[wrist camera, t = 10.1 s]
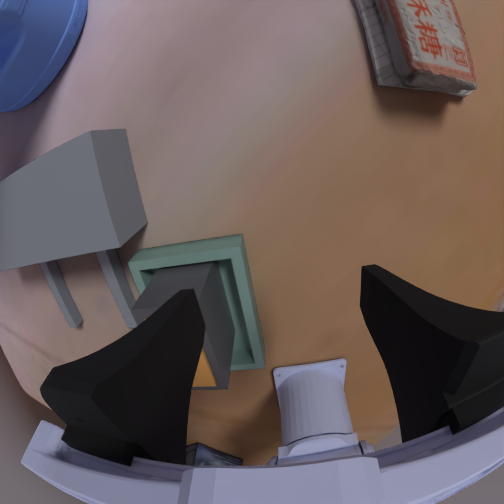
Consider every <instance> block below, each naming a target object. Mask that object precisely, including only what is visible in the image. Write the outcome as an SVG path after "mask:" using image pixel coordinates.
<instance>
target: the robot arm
mask: <svg viewBox="0 0 504 504" xmlns="http://www.w3.org/2000/svg"><path fill="white" fill-rule="evenodd" d="M360 308H361V311H362V314H363V317H364V320H365V323H366V326H367V328H368V330H369V332H370V334H371V336H372V338H373V341H374V343H375V345H376V347H377V349H378V351H379V353H380V355H381V358H382V360H383V362H384V365H385V367H386V370H387V373H388V376H389V380H390V383H391V387H392V390H393V394H394V399H395V403H396V407H397V412H398V418H399V423H400V430H401V437H402V444H399V445H396V446H392V447H389V448H386V449H382V450H379V451H375V452H374V449H373V447H372V445H371V444H370V443H368V442H366V441H365V440H362V441H359V442H358V438H357V434H356V433H353V429H352V424H351V420H350V415H349V411H348V406H347V402H346V398H345V394H344V390H343V388H344V380H345V371H346V360H345V359H344V358H342V359H336V360H330V361H324V362H318V363H311V364H304V365H296V366H288V367H279V368H275V369H274V370H273V375H274V380H275V386H276V391H277V396H278V402H279V407H280V412H281V435H282V447H278V456H273V457H271V458H270V460H269V461H268V462H267V464H266V465H261V466H225V465H211V466H188V465H186V439H187V423H188V412H189V404H190V396H191V390H192V385H193V381H194V378H195V374H196V370H197V366H198V363H199V359H200V355H201V352H202V348H203V344H204V336H205V327H206V324H205V322H204V319H203V316H202V313H201V309H200V306H199V303H198V300H197V297H196V294H195V291H194V288H193V289H183V290H180V291H178V292H177V293H176V294H175V295H173V296H172V297H171V298H170V299H169V300H168V301H166V302H165V303H164V304H163V305H162V306H161V307H160V308H158V309H157V310H156V311H155V312H154V313H153V314H152V315H150V316H149V317H148V318H147V319H145V320H144V321H143V322H142V323H141V324H139V325H138V326H137V327H136V328H134V329H133V330H131V331H130V332H129V333H127V334H126V335H124V336H123V337H121V338H120V339H118V340H116V341H115V342H113V343H111V344H109V345H108V346H106V347H104V348H102V349H100V350H99V351H97V352H94V353H92V354H90V355H88V356H85V357H83V358H81V359H78V360H76V361H73V362H70V363H67V364H63V365H60V366H57V367H54V368H53V369H52V370H51V372H50V373H49V375H48V376H47V378H46V379H45V381H44V382H43V384H42V385H41V387H40V392H41V395H42V397H43V399H44V400H45V402H46V403H47V404H48V405H49V407H50V408H51V409H52V410H53V411H54V412H55V413H56V414H57V415H58V416H59V417H60V418H61V419H62V420H63V421H64V422H65V423H66V424H67V428H66V429H65V430H64V429H62V428H60V427H58V426H57V425H54V424H51V423H49V422H47V421H44V420H41V422H40V424H39V426H38V428H37V430H36V432H35V434H34V435H33V437H32V440H31V441H30V444H29V446H28V448H27V450H26V452H25V454H24V456H23V458H22V461H21V462H22V464H23V465H24V466H26V467H27V468H28V469H30V470H31V471H33V472H34V473H35V474H37V475H38V476H40V477H42V478H43V479H44V480H46V481H47V482H49V483H50V484H52V485H54V486H55V487H57V488H59V489H60V490H62V491H64V492H66V493H68V494H70V495H72V496H74V497H76V498H78V499H80V500H82V501H84V502H86V503H88V504H435V503H438V502H440V501H441V500H444V499H446V498H448V497H450V496H452V495H454V494H455V493H457V492H459V491H461V490H463V489H464V488H466V487H468V486H470V485H471V484H473V483H474V482H476V481H478V480H479V479H481V478H483V477H484V476H485V475H487V474H489V473H490V472H492V471H493V470H495V469H496V468H497V467H499V466H500V465H501V464H503V463H504V312H495V311H487V310H482V309H477V308H472V307H468V306H464V305H461V304H457V303H454V302H451V301H448V300H445V299H443V298H440V297H438V296H435V295H433V294H430V293H428V292H426V291H424V290H422V289H420V288H418V287H416V286H414V285H412V284H410V283H408V282H407V281H405V280H403V279H401V278H399V277H398V276H396V275H394V274H392V273H391V272H389V271H387V270H385V269H383V268H381V267H380V266H377V265H375V264H374V265H367V266H362V271H361V295H360ZM277 374H279V375H277Z"/></svg>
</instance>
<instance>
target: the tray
mask: <svg viewBox="0 0 504 504" xmlns="http://www.w3.org/2000/svg"><path fill="white" fill-rule="evenodd" d="M214 260H218V264H219V268H220V272H221V276H222V280H223V284H224V288H225V292H226V296H227V300H228V304H229V308H230V312H231V315H232V319H233V323H234V327H235V338H234V345H233V353H232V361H231V369H230V371H233V370H249V369H261V368H265V347H264V342H263V337H262V332H261V327H260V322H259V317H258V311H257V306H256V301H255V296H254V291H253V286H252V281H251V275H250V270H249V265H248V260H247V255H246V249H245V244H244V239H243V234H237V235H230V236H223V237H217V238H210V239H203V240H197V241H190V242H184V243H178V244H171V245H165V246H159V247H153V248H146V249H140V250H139V251H138V252H137V253H136V254H135V255H134V256H133V257H132V258H131V259H130V261H129V262H128V265H129V268H130V270H131V273H132V276H133V278H134V281H135V284H136V286H137V289H138V291H139V294H140V296H141V294H142V292H143V291H144V289H145V288H146V286H147V285H148V284H149V282H150V281H151V279H152V278H153V276H154V275H155V273H156V272H157V270H158V269H159V268H161V267H169V266H177V265H184V264H192V263H199V262H207V261H214Z"/></svg>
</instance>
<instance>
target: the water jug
mask: <svg viewBox="0 0 504 504" xmlns="http://www.w3.org/2000/svg"><path fill="white" fill-rule="evenodd" d="M87 5H88V0H0V112H8V111H15V110H18V109H20V108H22V107H24V106H26V105H28V104H29V103H31V102H32V101H33V100H34V99H36V98H37V97H38V96H39V95H40V94H41V93H42V92H43V91H44V90H45V89H46V88H47V87H48V85H49V84H50V83H51V82H52V81H53V79H54V78H55V77H56V75H57V74H58V72H59V71H60V70H61V68H62V67H63V65H64V63H65V62H66V60H67V58H68V57H69V55H70V53H71V51H72V49H73V48H74V46H75V43H76V41H77V39H78V37H79V35H80V32H81V29H82V27H83V24H84V20H85V17H86V12H87Z"/></svg>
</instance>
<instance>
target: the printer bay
mask: <svg viewBox="0 0 504 504" xmlns="http://www.w3.org/2000/svg"><path fill="white" fill-rule="evenodd" d="M147 223H148V222H147V219H146V215H145V211H144V208H143V204H142V200H141V196H140V192H139V188H138V184H137V180H136V176H135V172H134V167H133V163H132V158H131V154H130V149H129V144H128V139H127V134H126V129H110V130H95V131H89V132H87V133H85V134H82V135H80V136H78V137H76V138H74V139H72V140H70V141H68V142H66V143H64V144H62V145H60V146H58V147H56V148H54V149H53V150H51V151H49V152H47V153H45V154H44V155H42V156H40V157H38V158H37V159H35V160H33V161H32V162H30V163H28V164H27V165H25V166H23V167H22V168H20V169H19V170H17V171H16V172H14V173H13V174H11V175H10V176H8V177H7V178H5V179H4V180H2V181H1V182H0V272H1V271H5V270H9V269H14V268H19V267H23V266H28V265H32V264H37V263H39V264H40V266H41V269H42V271H43V273H44V276H45V278H46V280H47V282H48V285H49V287H50V289H51V291H52V293H53V295H54V297H55V299H56V301H57V303H58V305H59V307H60V309H61V311H62V313H63V315H64V317H65V319H66V320H67V322H68V324H69V326H70V327H72V328H77V327H78V326H79V325H80V323H81V322H82V321H83V319H82V317H81V315H80V313H79V311H78V309H77V307H76V305H75V303H74V301H73V299H72V297H71V295H70V293H69V291H68V289H67V286H66V284H65V282H64V280H63V277H62V275H61V273H60V270H59V268H58V266H57V263H56V261H55V260H57V259H61V258H66V257H72V256H77V255H82V254H87V253H92V252H96V255H97V258H98V260H99V263H100V266H101V268H102V271H103V273H104V276H105V278H106V280H107V283H108V285H109V288H110V290H111V292H112V295H113V297H114V299H115V301H116V303H117V306H118V308H119V310H120V312H121V314H122V316H123V318H124V320H125V322H126V324H127V327H128V328H136V327H137V326H138V323H137V321H136V319H135V317H134V314H133V312H132V310H131V309H132V308H133V306H134V305H135V303H136V301H135V299H134V296H133V294H132V291H131V289H130V287H129V284H128V282H127V279H126V276H125V274H124V271H123V269H122V266H121V263H120V260H119V258H118V255H117V252H116V249H115V248H119V247H121V246H122V245H123V244H125V243H126V242H127V241H128V240H129V239H130V238H131V237H132V236H133V235H134V234H136V233H137V232H138V231H139V230H140V229H141V228H142V227H143V226H145V225H146V224H147Z"/></svg>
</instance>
